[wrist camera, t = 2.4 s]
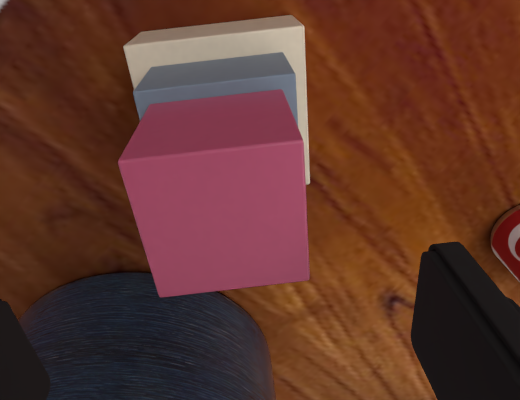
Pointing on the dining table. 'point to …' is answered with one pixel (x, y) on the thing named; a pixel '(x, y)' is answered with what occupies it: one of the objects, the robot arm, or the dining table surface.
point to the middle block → (217, 80)
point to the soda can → (508, 240)
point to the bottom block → (226, 52)
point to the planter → (146, 343)
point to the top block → (219, 193)
